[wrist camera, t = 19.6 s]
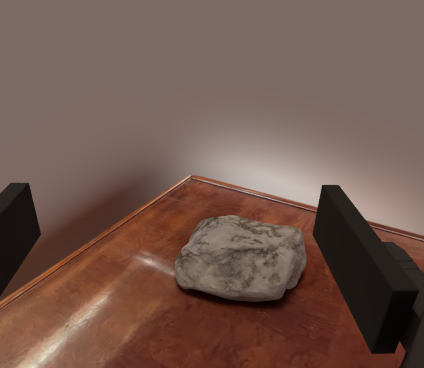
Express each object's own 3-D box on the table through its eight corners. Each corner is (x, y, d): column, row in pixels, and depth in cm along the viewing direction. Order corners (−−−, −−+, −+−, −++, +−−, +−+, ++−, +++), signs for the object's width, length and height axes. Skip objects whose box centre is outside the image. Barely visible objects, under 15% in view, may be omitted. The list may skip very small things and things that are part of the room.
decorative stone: (308, 253, 58) (307, 207, 53) (300, 327, 49) (297, 281, 43) (199, 243, 65) (186, 201, 59) (172, 307, 55) (154, 264, 49)
